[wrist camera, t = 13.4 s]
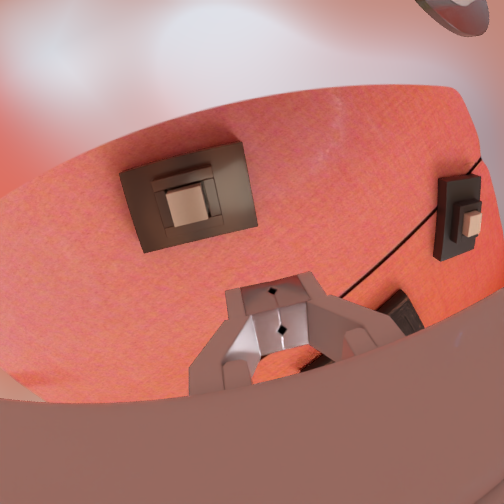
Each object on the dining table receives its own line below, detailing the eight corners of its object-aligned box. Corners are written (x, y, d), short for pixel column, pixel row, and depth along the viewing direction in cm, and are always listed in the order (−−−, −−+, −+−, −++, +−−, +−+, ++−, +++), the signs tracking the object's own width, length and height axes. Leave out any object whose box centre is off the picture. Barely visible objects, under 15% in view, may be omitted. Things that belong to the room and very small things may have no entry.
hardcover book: (422, 329, 51) (428, 335, 49) (339, 395, 55) (343, 403, 53) (399, 287, 44) (406, 294, 42) (299, 369, 48) (302, 379, 46)
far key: (463, 213, 36) (470, 216, 35) (475, 209, 37) (482, 213, 35) (461, 233, 38) (468, 237, 36) (473, 229, 38) (479, 233, 37)
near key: (176, 222, 30) (174, 227, 29) (167, 190, 29) (165, 194, 27) (208, 214, 31) (208, 219, 29) (200, 182, 29) (200, 185, 27)
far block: (438, 178, 37) (454, 184, 33) (472, 173, 38) (488, 179, 34) (432, 256, 43) (446, 266, 40) (466, 244, 44) (480, 252, 40)
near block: (146, 246, 35) (141, 260, 31) (123, 170, 30) (113, 176, 27) (255, 220, 36) (261, 231, 32) (239, 140, 31) (244, 142, 28)
